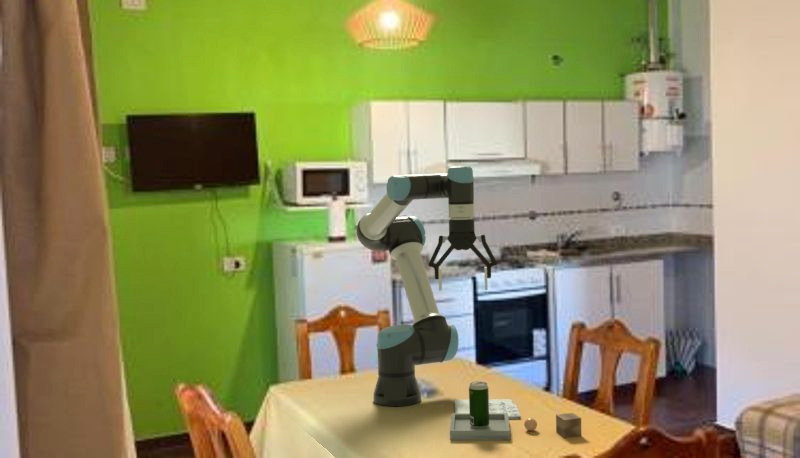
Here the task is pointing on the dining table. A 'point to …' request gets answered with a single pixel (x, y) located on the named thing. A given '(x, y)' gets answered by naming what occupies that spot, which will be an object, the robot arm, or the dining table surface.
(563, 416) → the walnut block
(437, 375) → the dining table surface
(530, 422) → the terracotta ball
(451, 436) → the dish
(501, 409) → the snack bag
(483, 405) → the beer can
